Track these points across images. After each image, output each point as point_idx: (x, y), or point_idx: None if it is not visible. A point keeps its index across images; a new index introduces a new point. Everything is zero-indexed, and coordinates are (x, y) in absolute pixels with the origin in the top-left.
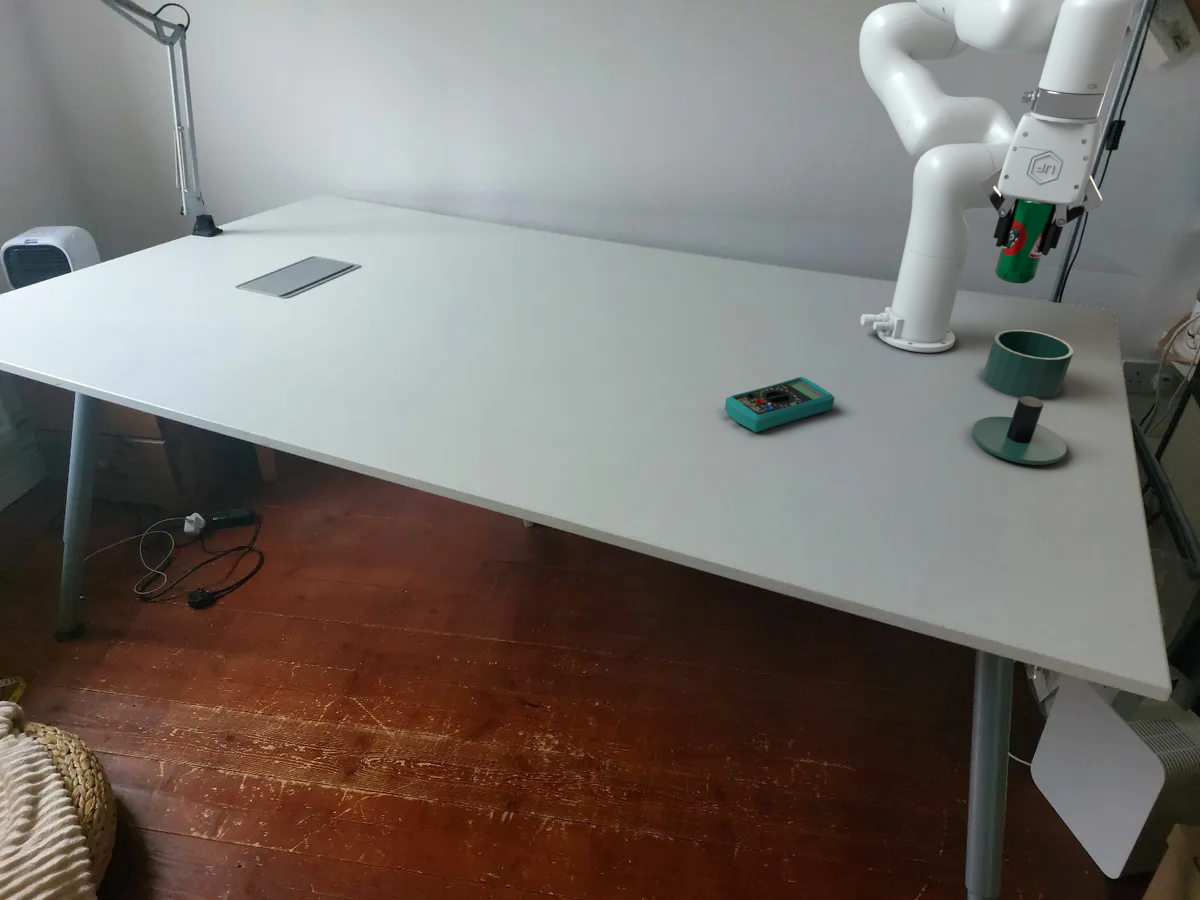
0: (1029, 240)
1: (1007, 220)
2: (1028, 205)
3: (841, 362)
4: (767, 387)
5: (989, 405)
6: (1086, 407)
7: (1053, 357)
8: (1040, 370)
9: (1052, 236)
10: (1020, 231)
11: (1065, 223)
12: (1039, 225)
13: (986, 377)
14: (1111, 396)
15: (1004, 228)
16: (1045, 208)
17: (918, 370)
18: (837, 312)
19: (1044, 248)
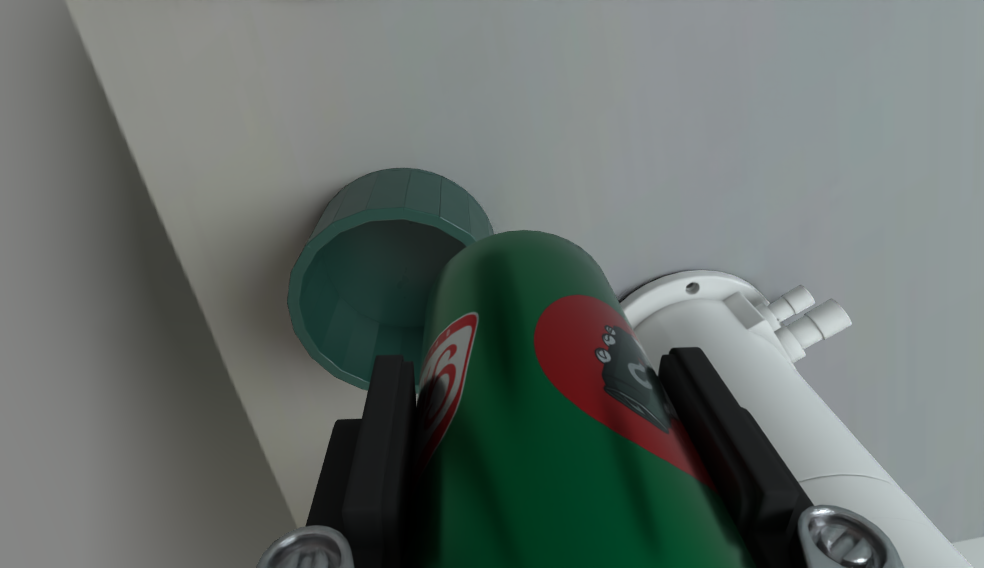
0: (511, 364)
1: (752, 486)
2: None
3: (854, 98)
4: None
5: (442, 69)
6: (237, 211)
7: (353, 341)
8: (348, 205)
9: (358, 440)
10: (608, 398)
11: (262, 561)
12: (479, 471)
13: (484, 213)
14: (212, 305)
15: (727, 429)
16: None
17: (649, 175)
18: (872, 384)
19: (400, 380)
